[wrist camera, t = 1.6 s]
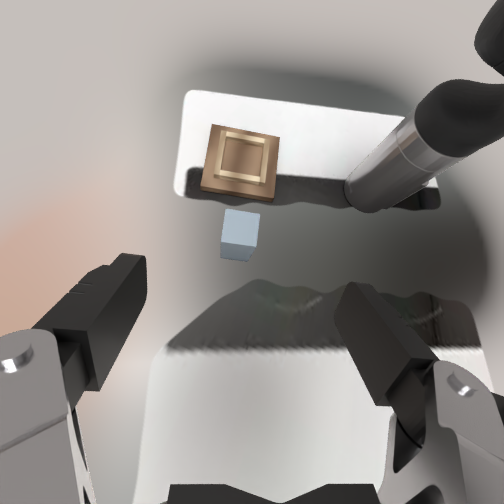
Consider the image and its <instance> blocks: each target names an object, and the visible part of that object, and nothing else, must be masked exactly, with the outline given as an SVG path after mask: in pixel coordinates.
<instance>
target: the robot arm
mask: <svg viewBox="0 0 504 504" xmlns="http://www.w3.org/2000/svg"><path fill="white" fill-rule="evenodd" d="M474 46H475V49H476V51H477V53H478V54H479V56H480V57H481V58H482V59H483V61H485V62H486V63H487V64H488V65H490V66H491V67H493V68H494V69H495V70H496V71H497V72H499V73H500V74H501V75H502V76H504V0H497V1H496V2H495V4H494V5H493V6H492V8H491V9H490V11H489V12H488V14H487V15H486V16H485V18H484V20H483V21H482V23H481V25H480V27H479V29H478V31H477V33H476V36H475V41H474ZM502 137H504V84H486V83H480V82H474V81H470V80H461V79H458V80H457V79H455V80H450V81H446V82H443V83H441V84H440V85H438V86H437V87H435V88H434V89H433V90H432V91H431V92H430V93H429V94H428V95H427V96H426V97H425V98H424V99H423V100H422V101H421V102H420V103H419V104H418V105H417V106H416V107H415V108H414V109H413V110H412V111H411V112H410V113H409V114H408V115H407V116H406V117H405V118H404V119H403V120H402V122H401V123H400V124H399V125H398V126H397V127H396V128H395V129H394V130H393V131H392V132H391V133H390V134H389V135H388V136H387V137H386V138H385V139H384V140H383V141H382V142H381V143H380V144H379V145H378V146H377V147H376V148H375V149H374V150H373V151H372V152H371V153H370V154H369V155H368V156H367V157H366V158H365V159H364V161H363V162H362V163H361V164H360V165H359V166H358V167H357V168H356V169H355V170H354V171H353V172H352V173H351V174H350V175H349V176H348V177H347V179H346V180H345V183H344V193H345V196H346V198H347V200H348V202H349V203H350V204H351V205H352V206H353V207H354V208H356V209H357V210H359V211H361V212H364V213H374V212H377V211H379V210H381V209H388V208H390V207H392V206H393V205H395V204H397V203H398V202H400V201H402V200H403V199H405V198H407V197H409V196H410V195H412V194H414V193H415V192H417V191H419V190H420V189H422V188H424V187H425V186H427V185H428V182H429V180H430V179H432V178H434V177H435V176H437V175H438V174H440V173H442V172H443V171H445V170H446V169H448V168H449V167H451V166H453V165H454V164H456V163H458V162H459V161H461V160H463V159H464V158H466V157H468V156H469V155H471V154H472V153H474V152H476V151H477V150H479V149H481V148H483V147H485V146H487V145H489V144H491V143H493V142H495V141H497V140H499V139H501V138H502ZM146 296H147V268H146V258H145V256H142V255H133V254H126V253H121V254H120V255H119V256H118V257H117V258H116V259H115V260H114V262H113V263H112V264H111V265H110V266H109V265H102V266H100V267H98V268H96V269H94V270H92V271H90V272H88V273H87V274H86V275H85V276H84V277H83V278H82V279H81V280H80V281H79V282H78V284H76V285H75V286H74V287H73V288H72V289H71V290H70V291H69V293H67V294H66V295H65V296H64V297H63V298H62V299H61V300H60V301H59V302H58V303H57V304H56V305H55V306H54V307H52V309H51V310H50V311H48V312H47V313H46V314H45V315H44V316H43V318H41V319H40V320H39V321H38V322H37V323H36V324H35V325H34V326H33V327H32V328H31V329H27V330H21V331H16V332H13V333H10V334H7V335H4V336H2V337H0V504H97V503H96V499H95V495H94V491H93V487H92V482H91V478H90V473H89V469H88V463H87V459H86V454H85V448H84V443H83V438H82V433H81V428H80V423H79V418H78V413H77V408H76V405H77V402H78V401H79V399H80V398H81V396H82V394H83V392H84V391H100V389H101V387H102V385H103V384H104V381H105V380H106V378H107V376H108V374H109V372H110V370H111V368H112V366H113V364H114V362H115V360H116V358H117V357H118V354H119V353H120V351H121V349H122V347H123V345H124V343H125V341H126V339H127V337H128V335H129V333H130V332H131V330H132V328H133V326H134V324H135V322H136V320H137V318H138V316H139V314H140V312H141V310H142V308H143V306H144V304H145V301H146ZM334 320H335V324H336V327H337V329H338V331H339V333H340V335H341V337H342V339H343V341H344V343H345V345H346V347H347V349H348V351H349V353H350V355H351V357H352V359H353V361H354V363H355V365H356V367H357V369H358V371H359V373H360V375H361V377H362V379H363V381H364V383H365V385H366V387H367V389H368V391H369V393H370V395H371V397H372V399H373V401H374V403H375V405H376V406H392V408H393V410H394V413H393V414H392V415H391V417H390V423H389V433H388V443H387V453H386V463H385V472H384V478H383V482H382V485H381V487H380V489H379V491H378V493H376V490H375V488H374V485H373V484H326V485H324V486H322V487H319V488H317V489H315V490H312V491H310V492H308V493H306V494H303V495H301V496H299V497H296V498H294V499H292V500H289V501H287V502H284V503H275V502H272V501H269V500H267V499H264V498H261V497H258V496H256V495H253V494H250V493H247V492H245V491H242V490H239V489H236V488H234V487H231V486H228V485H226V484H171V485H170V490H169V495H168V501H166V502H163V503H160V504H504V397H503V396H500V395H498V394H495V393H492V392H490V391H489V389H488V388H487V387H486V386H485V385H484V384H483V383H482V382H481V381H480V380H479V379H478V378H477V377H476V376H474V375H473V374H472V373H470V372H469V371H467V370H466V369H464V368H462V367H460V366H458V365H456V364H454V363H451V362H448V361H440V360H439V359H438V357H437V356H436V355H435V354H434V353H433V352H432V351H431V349H430V348H429V347H428V346H427V345H426V344H425V342H424V341H423V340H422V339H421V338H420V337H419V336H418V334H417V333H416V332H415V331H414V330H413V329H412V328H410V327H409V326H410V325H409V324H408V323H407V322H406V321H405V319H402V316H401V315H400V314H399V313H398V311H397V310H396V309H395V308H394V307H393V306H392V305H391V304H389V303H388V302H387V301H385V300H384V299H383V298H382V297H381V296H380V295H379V293H378V292H377V291H376V290H375V289H374V288H373V286H372V285H370V284H366V283H358V282H350V283H348V284H347V286H346V288H345V290H344V292H343V294H342V297H341V299H340V301H339V303H338V305H337V308H336V310H335V314H334Z"/></svg>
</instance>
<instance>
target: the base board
mask: <svg viewBox="0 0 504 504" xmlns="http://www.w3.org/2000/svg"><path fill="white" fill-rule="evenodd" d="M279 139H280V137H276V136H271V135H266V134H261V133H256V132H250V131H245V130H240V129H235V128H230V127H225V126H220V125H215V124H212V127H211V132H210V138H209V143H208V148H207V154H206V159H205V164H204V170H203V175H202V181H201V190H203V191H209V192H215V193H221V194H227V195H233V196H239V197H245V198H251V199H257V200H263V201H269V202H272V201H273V199H274V191H275V180H276V170H277V160H278V150H279Z"/></svg>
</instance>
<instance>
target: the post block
mask: <svg viewBox="0 0 504 504" xmlns="http://www.w3.org/2000/svg"><path fill="white" fill-rule="evenodd" d="M259 218H260V214H256V213H249V212H243V211H237V210H231V209H226V212H225V219H224V225H223V232H222V238H221V258H224V259H231V260H239V261H246V262H247V261H248V260H249V258H250V257H251V255H252V253H253V252H254V250H255V248H256V244H257V236H258V227H259Z"/></svg>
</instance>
